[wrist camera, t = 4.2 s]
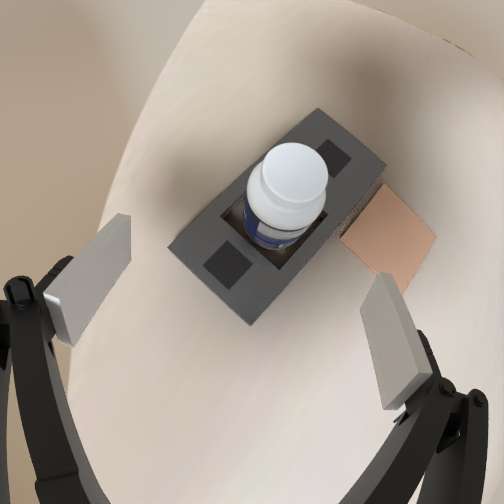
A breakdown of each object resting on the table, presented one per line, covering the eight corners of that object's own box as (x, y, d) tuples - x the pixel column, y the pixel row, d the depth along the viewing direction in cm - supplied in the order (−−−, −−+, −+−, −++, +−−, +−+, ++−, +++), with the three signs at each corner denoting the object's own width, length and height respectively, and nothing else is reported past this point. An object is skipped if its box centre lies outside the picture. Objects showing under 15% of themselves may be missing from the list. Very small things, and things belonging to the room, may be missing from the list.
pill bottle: (248, 187, 27) (259, 123, 18) (306, 200, 27) (342, 144, 18) (236, 244, 26) (241, 201, 16) (297, 257, 26) (335, 223, 17)
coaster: (382, 184, 28) (384, 183, 28) (434, 237, 28) (436, 236, 27) (339, 239, 27) (341, 238, 26) (398, 296, 26) (400, 296, 26)
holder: (314, 116, 29) (318, 107, 28) (379, 172, 29) (387, 164, 27) (170, 251, 25) (167, 247, 24) (249, 325, 25) (250, 326, 23)
